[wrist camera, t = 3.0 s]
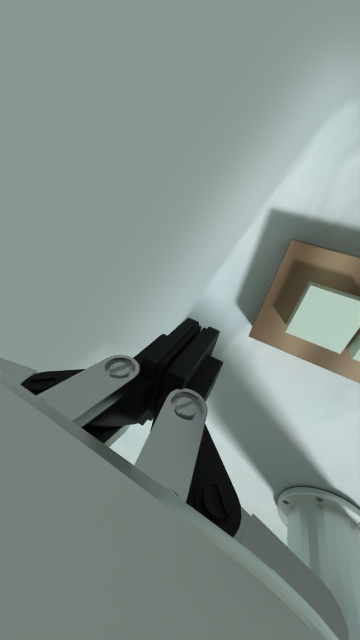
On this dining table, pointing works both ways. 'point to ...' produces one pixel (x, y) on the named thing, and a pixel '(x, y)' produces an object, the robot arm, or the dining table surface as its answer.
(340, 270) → the board
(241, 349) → the dining table surface
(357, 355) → the tile
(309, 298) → the tile
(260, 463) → the dining table surface
